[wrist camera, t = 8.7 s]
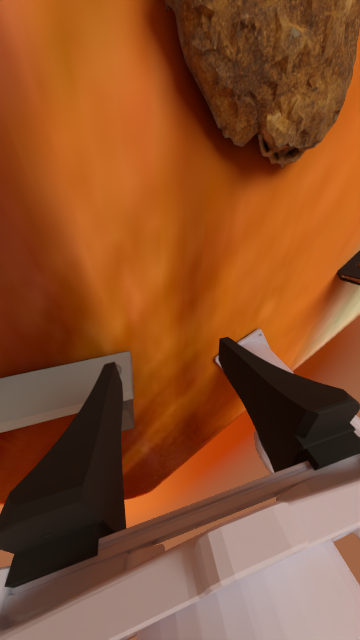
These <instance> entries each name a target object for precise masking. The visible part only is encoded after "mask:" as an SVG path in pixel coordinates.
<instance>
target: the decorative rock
mask: <svg viewBox="0 0 360 640" xmlns="http://www.w3.org/2000/svg"><path fill="white" fill-rule="evenodd" d="M165 6H166V11H168V10H169V9H170V8H172V9H173V11H174V12H175V16H176V23H177V29H178V36H179V41H180V44H181V48H182V51H183V55H184V58H185V62H186V64H187V66H188V68H189V70H190V72H191V73H192V75H193V77H194V79H195V81H196V83H197V85H198V87H199V89H200V90H201V92H202V94H203V96H204V98H205V100H206V102H207V104H208V106H209V108H210V110H211V112H212V114H213V117H214V119H215V122H216V124H217V126H218V128H219V129H221V130H222V133H223V136H224V137H225V138H228V137H230V138H231V140H232V141H233V143H234V145H238V146H241V147H243V146H244V145H245V144H246V143H247V142H248V141H249V140H250V139H251V138H252V137H253V136H254V135H255V134H256V135H257V136H258V139H259V146H260V151H261V154H262V156H265V157H269V159H270V162H271V164H275V163H278V164H281V168H283V166H284V165H285V164H287V163H292V162H296V161H297V160H298V159H300V157H301V156H302V155H303V153H304V152H305V151H306V150H308V149H311V148H314V147H316V146H317V145H318V143H319V142H321V141H322V140H323V138H324V137H325V135H326V134H327V132H328V131H329V130H330V128H331V127H332V126H333V124H334V123H335V122H336V120H337V118H338V115H339V113H340V110H341V108H342V106H343V104H344V101H345V97H346V92H347V89H348V87H349V85H350V82H351V79H352V75H353V66H354V63H355V60H356V50H357V40H358V35H359V28H360V0H165Z"/></svg>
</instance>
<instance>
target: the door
mask: <svg viewBox="0 0 360 640" xmlns="http://www.w3.org/2000/svg"><path fill="white" fill-rule="evenodd" d="M111 362H115V363H116V366H117V369H118V372H119V375H120V378H121V381H122V387H123V401H126V400H130V399H134V391H133V373H132V357H131V354H130V351H128V352H123V353H118V354H113V355H109V356H104V357H99V358H95V359H90V360H85V361H80V362H76V363H71V364H66V365H62V366H57V367H52V368H47V369H43V370H38V371H33V372H29V373H24V374H19V375H14V376H10V377H5V378H0V433H1V432H5V431H9V430H13V429H17V428H21V427H25V426H28V425H32V424H36V423H40V422H44V421H48V420H52V419H56V418H60V417H64V416H67V415H71V414H75V413H78V412H79V411H80V409H81V408H82V406H83V404H84V403H85V401H86V399H87V398H88V396H89V394H90V392H91V391H92V389H93V387H94V385H95V383H96V381H97V379H98V377H99V375H100V373H101V371H102V368H103V366H104V365H105V364H107V363H111Z"/></svg>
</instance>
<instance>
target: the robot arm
mask: <svg viewBox="0 0 360 640" xmlns="http://www.w3.org/2000/svg"><path fill="white" fill-rule="evenodd" d="M215 361H216V362H217V363H218V365H219V366H220V367H221V368H222V370H223V371H224V373H225V375H226V376H227V378H228V380H229V381H230V383H231V384H232V386H233V388H234V389H235V391H236V392H237V394H238V395H239V397H240V399H241V400H242V402H243V404H244V406H245V408H246V410H247V412H248V414H249V416H250V418H251V419H252V422H253V424H254V426H255V428H256V431H255V432H254V440H255V447H256V450H257V453H258V455H259V457H260V459H261V461H262V462H263V464H264V466H265V467H266V469H267V470H268V471H269V473H270V475H268V476H265V477H262V478H260V479H257V480H254V481H252V482H249V483H247V484H244V485H241V486H239V487H236V488H233V489H230V490H228V491H225V492H223V493H220V494H217V495H215V496H212V497H209V498H207V499H204V500H201V501H199V502H196V503H193V504H191V505H188V506H185V507H183V508H180V509H177V510H175V511H172V512H169V513H167V514H164V515H162V516H159V517H156V518H153V519H151V520H148V521H145V522H143V523H140V524H137V525H135V526H132V527H129V528H127V529H126V520H125V506H124V492H123V475H122V453H121V428H122V411H123V387H122V381H121V378H120V375H119V372H118V369H117V366H116V363H115V362H111V363H107V364H105V365H104V366H103V368H102V371H101V373H100V375H99V377H98V379H97V381H96V383H95V385H94V387H93V389H92V391H91V392H90V394H89V396H88V398H87V399H86V401H85V403H84V404H83V406H82V408H81V409H80V411H79V412H78V414H77V415H76V417H75V418H74V420H73V421H72V423H71V424H70V425H69V427H68V428H67V429H66V431H65V432H64V433H63V435H62V436H61V437H60V439H59V440H58V441H57V442H56V444H55V445H54V446H53V447H52V448H51V449H50V451H49V452H48V453H47V454H46V455H45V456H44V457H43V459H42V460H41V461H40V462H39V463H38V464H37V465H36V467H35V468H34V469H33V470H32V471H31V472H30V473H29V474H28V475H27V476H26V477H25V478H24V479H23V480H22V481H21V482H20V483H19V484H18V485H17V486H16V487H15V488H14V489H13V490H12V491H11V492H10V493H9V496H8V498H7V500H6V502H5V504H4V506H3V509H2V511H1V514H0V550H4V551H7V552H10V553H13V554H14V557H13V560H12V564H11V566H8V567H2V568H0V640H129V639H131V638H133V637H135V636H137V640H360V586H359V584H358V583H357V581H356V579H355V578H354V576H353V574H352V573H351V571H350V570H349V568H348V566H347V565H346V563H345V561H344V560H343V558H342V557H341V555H340V553H339V552H338V550H337V549H336V547H335V545H334V544H333V542H334V541H336V540H338V539H340V538H342V537H344V536H346V535H348V534H350V533H354V534H356V536H357V537H358V539H359V540H360V418H359V417H358V416H357V415H356V414H357V413H358V411H359V409H360V404H359V402H357V401H356V400H355V399H354V398H353V397H352V396H350V395H349V394H348V393H347V392H346V391H344V390H343V389H340V388H336V387H332V386H329V385H325V384H321V383H318V382H315V381H312V380H309V379H306V378H303V377H301V376H298V375H296V374H294V373H293V372H292V371H291V370H290V369H289V368H288V367H287V366H286V365H285V364H284V363H283V362H282V361H281V360H280V359H279V358H278V357H277V356H276V355H275V354H274V353H273V352H272V351H271V349H270V347H269V345H268V343H267V341H266V339H265V337H264V334H263V332H262V331H261V330H260V329H257V330H255V331H254V332H252V333H251V334H249V335H248V336H246V337H245V338H243V339H242V340H240V341H239V342H237V343H236V342H235V341H233V340H232V339H230V338H229V337H225V338H220V342H219V355H218V356H216V357H215ZM278 495H279V496H278ZM276 496H277V497H276ZM273 497H276V502H273V503H270V504H268V505H266V506H263V507H260V508H258V509H255V510H253V511H250V512H248V513H246V514H243V515H241V516H238V517H236V518H233V519H231V520H229V521H226V522H223V523H221V524H219V525H216V526H214V527H212V528H210V529H208V530H207V531H205V532H203V533H201V534H199V535H197V536H195V537H193V538H191V539H189V540H187V541H185V542H183V543H181V544H179V545H177V546H175V547H172V548H171V549H168V550H167V551H165V548H164V545H163V544H160V545H156V544H159V543H161V542H164V541H166V540H169V539H171V538H174V537H176V536H179V535H181V534H184V533H186V532H188V531H191V530H193V529H196V528H198V527H201V526H203V525H206V524H208V523H211V522H213V521H216V520H218V519H221V518H223V517H226V516H228V515H231V514H233V513H236V512H238V511H241V510H243V509H246V508H248V507H251V506H253V505H256V504H258V503H261V502H263V501H266V500H268V499H271V498H273ZM154 545H156V546H154Z"/></svg>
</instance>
